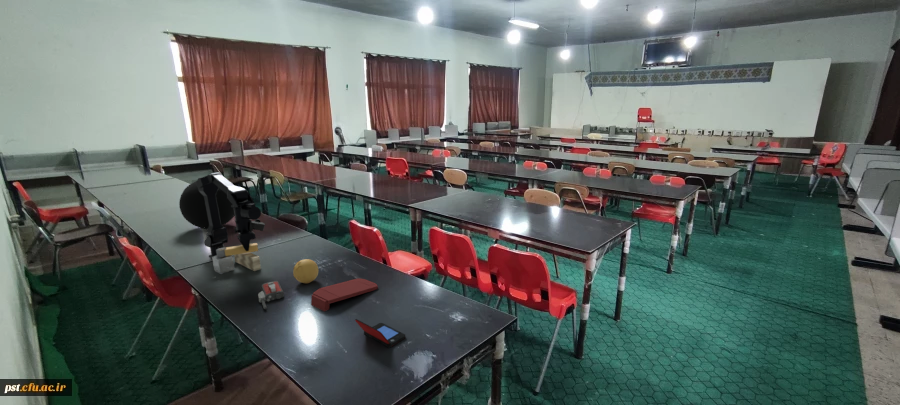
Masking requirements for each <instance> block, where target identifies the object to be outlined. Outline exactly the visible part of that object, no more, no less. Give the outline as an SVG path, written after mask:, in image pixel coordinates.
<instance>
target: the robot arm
mask: <svg viewBox="0 0 900 405" xmlns="http://www.w3.org/2000/svg"><path fill="white" fill-rule="evenodd" d="M195 182H196V185H197V187H198V190H199V192H200V193H201V194H202V195H203V196H204V200H205V205H206V210H207V215H208V221H209V227H208V229H206V237H205V238H204V241H203V245H204V246H205V247H207V248H209V249H210V254H208V257H209V258H210V259H212V257H213V256H217V253H216V250H217V249H219V248H225V245H224V244H227V243H228V242H229V241H228V240H229V239H228V238H229V233H228V230H227V227H225V225H222V224H221V221H220V216H219V210H218V205H217V199H216V193H217V191H218V187H219V188H220V189H221V190H222V191H224V192H225V193H226V194H227V199H228V200H229V201H230V202H231V203H232V205H231V207H233V208H234V215H235V216H234V223H235V227H234V233H235V234H238V235H236V237H237V239H238V241H239V242H240V245H241V244H242V246H243V247H244V249H245V250H246V251H249V243H250V242H251V240H256V233H255V232H254V230H255V231H256V230H257V231H260V232H264V230H265V227H266V226H265V225H266V224H265V222H261V220H260V218H261V215H262V211H261V209H260V207H257V206H256V204H255V202H254V198H253V197H252V196H251V194H250V193H249V191H248V190H247V189H245V188H244V187H241V186H237V185H234V184H233V182H231V181H230V180H229V179H227V178H226V177H224V176H223V174H222V172H212V173H209V174H207V175H205V176H203V177H198V179H197V180H195ZM250 244H251V243H250Z"/></svg>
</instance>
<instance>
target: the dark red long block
mask: <svg viewBox="0 0 900 405" xmlns="http://www.w3.org/2000/svg"><path fill="white" fill-rule="evenodd" d="M378 289H379V286H378V284H377V283H375V282H374V281H370V280H368V279H365V278H359V277H357V278H354V279H350V280H345V281H343V282H338V283H334V284H331V285H327V286H324V287H323V286H322V287H320V288H318V289H317V290H315V291H314V292H313V293H312V294H311V298H310V299H311V301H310V305H311V306H312V307H314V308H316V309H318V310H321V311H322V312H326V311H328V310H330V304H333V303H336V302H340V301H343V300H344V301H345V300H346V299H349V298H352V297H356V296H359V295H363V294H366V293H370V292H373V291H375V290H378Z"/></svg>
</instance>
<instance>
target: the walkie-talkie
mask: <svg viewBox="0 0 900 405" xmlns="http://www.w3.org/2000/svg"><path fill="white" fill-rule="evenodd" d="M259 288H260V292H258V294H257V296H258V302H259V303H261V305H262V308H263V309H264V310H267V309H268V307H267V304H266V302H270V301H274V300H280V299H282V298H284V297H285V296H284V295H285V293H284V290H283V288H282V287H281V284H280V282H279V281H278V280H273V281H268V282H264V283H262V284H261V286H260V287H259Z"/></svg>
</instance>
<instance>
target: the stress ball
mask: <svg viewBox="0 0 900 405" xmlns="http://www.w3.org/2000/svg"><path fill="white" fill-rule="evenodd" d="M318 266H319V265H318V264H317V262H315V261H314V260H312V259H310V258H307V259H306V258H304V259H301V260H299V261H297V262H296V263H295V265H294V266H293V269H292V270H293V274H292V275H293V278H294V279H296V281H297V282H298V283H303V284H310V283H311V282H313V281H314V280H315V279H316V278H317V277H318V275H319V267H318Z"/></svg>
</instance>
